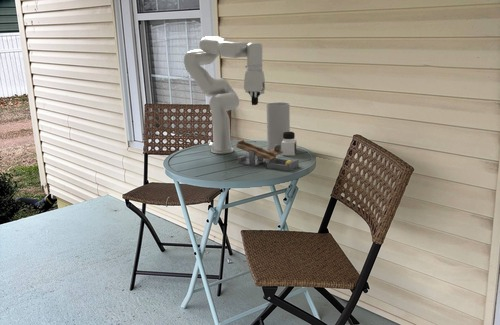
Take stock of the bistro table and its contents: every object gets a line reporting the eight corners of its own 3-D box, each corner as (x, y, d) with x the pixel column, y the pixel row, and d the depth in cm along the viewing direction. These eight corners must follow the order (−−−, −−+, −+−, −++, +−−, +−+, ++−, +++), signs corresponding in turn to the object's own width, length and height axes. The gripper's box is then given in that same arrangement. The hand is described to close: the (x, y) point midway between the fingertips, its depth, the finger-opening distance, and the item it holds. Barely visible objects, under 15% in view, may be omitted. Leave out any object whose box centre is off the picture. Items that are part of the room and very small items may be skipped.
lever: (236, 147, 257) (237, 140, 256) (252, 141, 270) (254, 134, 268) (269, 160, 248) (270, 153, 247) (285, 153, 261) (286, 146, 259)
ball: (291, 163, 243) (289, 169, 245) (295, 161, 246) (292, 167, 247) (285, 159, 244) (283, 166, 246) (289, 158, 247) (286, 164, 249)
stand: (235, 163, 258) (234, 149, 256) (245, 159, 265) (244, 145, 263) (255, 166, 252) (255, 152, 250) (265, 161, 259) (264, 148, 257)
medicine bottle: (294, 155, 269) (294, 133, 266) (281, 155, 270) (281, 133, 267) (296, 152, 275) (296, 130, 272) (283, 152, 277) (283, 130, 274)
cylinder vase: (294, 147, 286) (294, 103, 279) (280, 152, 277) (279, 106, 270) (276, 145, 294) (276, 101, 287) (262, 149, 285) (261, 104, 278)
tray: (266, 167, 248) (266, 161, 247) (276, 163, 256) (276, 156, 255) (288, 171, 241) (288, 164, 240) (298, 166, 249) (298, 159, 248)
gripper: (238, 68, 255) (238, 104, 261) (263, 69, 248) (263, 107, 253) (246, 66, 261) (246, 102, 267) (271, 68, 254) (271, 104, 259)
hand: (254, 104), depth 260 cm, fingers closed
